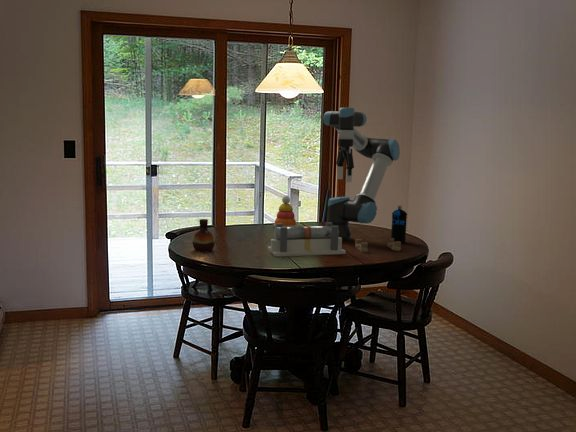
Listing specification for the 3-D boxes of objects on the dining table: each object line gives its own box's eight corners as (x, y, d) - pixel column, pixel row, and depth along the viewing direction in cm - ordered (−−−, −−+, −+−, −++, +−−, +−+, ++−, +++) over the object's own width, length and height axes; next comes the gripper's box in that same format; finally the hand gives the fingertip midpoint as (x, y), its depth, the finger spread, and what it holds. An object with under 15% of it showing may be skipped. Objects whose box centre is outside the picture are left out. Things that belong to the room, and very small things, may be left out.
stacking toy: (294, 230, 364) (295, 197, 361) (270, 228, 367) (271, 196, 364) (299, 226, 378) (300, 194, 375) (276, 224, 381) (277, 193, 378)
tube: (276, 239, 301) (276, 226, 302) (274, 239, 307) (273, 227, 308) (339, 237, 309) (338, 225, 310) (335, 238, 315) (335, 226, 315)
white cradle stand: (267, 249, 312) (268, 222, 310) (335, 247, 321) (336, 221, 319) (274, 256, 297) (275, 228, 295) (345, 253, 306) (346, 227, 304)
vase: (219, 249, 309) (219, 219, 306) (205, 254, 299) (205, 222, 297) (201, 247, 314) (201, 217, 312) (187, 251, 305) (187, 220, 302)
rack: (354, 247, 321) (355, 239, 320) (392, 246, 326) (393, 238, 325) (361, 251, 311) (362, 243, 310) (400, 250, 316) (400, 242, 315)
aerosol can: (393, 240, 343) (395, 204, 339) (407, 241, 338) (409, 205, 335) (388, 242, 336) (389, 206, 332) (402, 244, 331) (404, 207, 328)
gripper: (331, 137, 323) (329, 177, 326) (346, 139, 299) (345, 183, 302) (344, 137, 325) (343, 177, 328) (361, 139, 301) (359, 183, 304)
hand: (344, 180), depth 315 cm, fingers open, 13 cm apart
